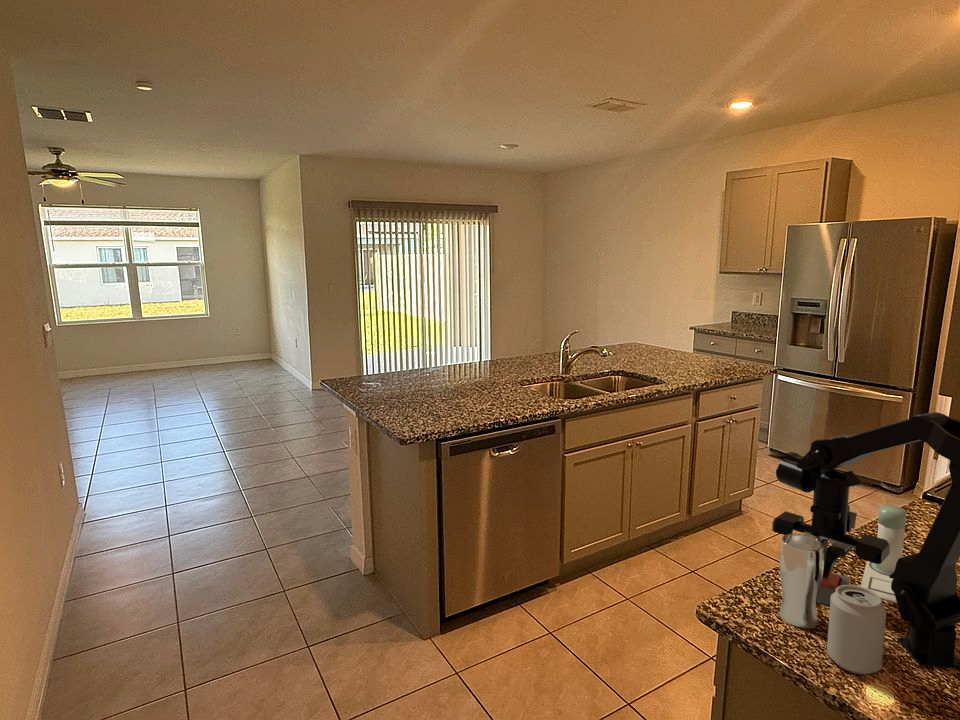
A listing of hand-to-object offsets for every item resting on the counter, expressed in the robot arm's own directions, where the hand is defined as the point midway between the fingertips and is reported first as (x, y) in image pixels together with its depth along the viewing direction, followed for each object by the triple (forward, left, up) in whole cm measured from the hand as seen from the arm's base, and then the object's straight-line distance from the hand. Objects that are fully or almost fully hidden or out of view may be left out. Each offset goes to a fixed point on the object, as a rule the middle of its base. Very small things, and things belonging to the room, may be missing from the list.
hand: (825, 576), depth 111 cm
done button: (0, 0, -3) cm, 3 cm away
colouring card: (+6, -14, -4) cm, 16 cm away
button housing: (0, 0, -4) cm, 4 cm away
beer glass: (-9, +8, -4) cm, 12 cm away
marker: (+10, -17, -3) cm, 20 cm away
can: (-20, +4, -4) cm, 21 cm away
